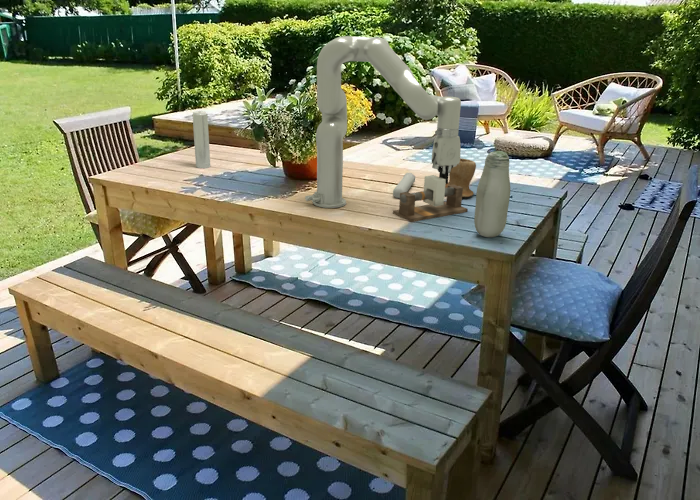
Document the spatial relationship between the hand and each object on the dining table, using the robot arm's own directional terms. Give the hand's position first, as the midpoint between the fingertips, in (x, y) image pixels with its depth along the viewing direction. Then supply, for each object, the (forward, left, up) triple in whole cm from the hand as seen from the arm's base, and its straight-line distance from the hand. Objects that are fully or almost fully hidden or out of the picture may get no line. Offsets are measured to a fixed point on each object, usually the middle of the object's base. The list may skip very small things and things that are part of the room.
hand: (443, 183), depth 222 cm
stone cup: (+20, +15, -11) cm, 27 cm away
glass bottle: (-4, -29, -11) cm, 31 cm away
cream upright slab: (-4, 0, -7) cm, 8 cm away
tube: (+4, +29, -11) cm, 31 cm away
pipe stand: (-5, 0, -10) cm, 12 cm away
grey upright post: (-54, +105, -11) cm, 119 cm away
